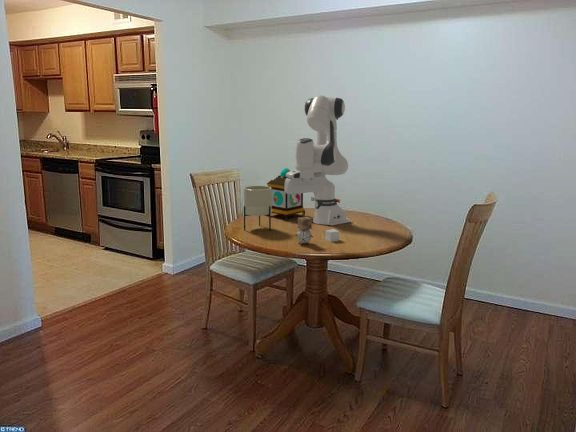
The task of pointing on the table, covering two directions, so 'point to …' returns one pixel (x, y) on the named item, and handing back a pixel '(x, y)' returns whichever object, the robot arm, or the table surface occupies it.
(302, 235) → the game die
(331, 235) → the grey block
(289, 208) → the decorative lantern
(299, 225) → the walnut block
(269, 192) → the planter
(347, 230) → the table surface
